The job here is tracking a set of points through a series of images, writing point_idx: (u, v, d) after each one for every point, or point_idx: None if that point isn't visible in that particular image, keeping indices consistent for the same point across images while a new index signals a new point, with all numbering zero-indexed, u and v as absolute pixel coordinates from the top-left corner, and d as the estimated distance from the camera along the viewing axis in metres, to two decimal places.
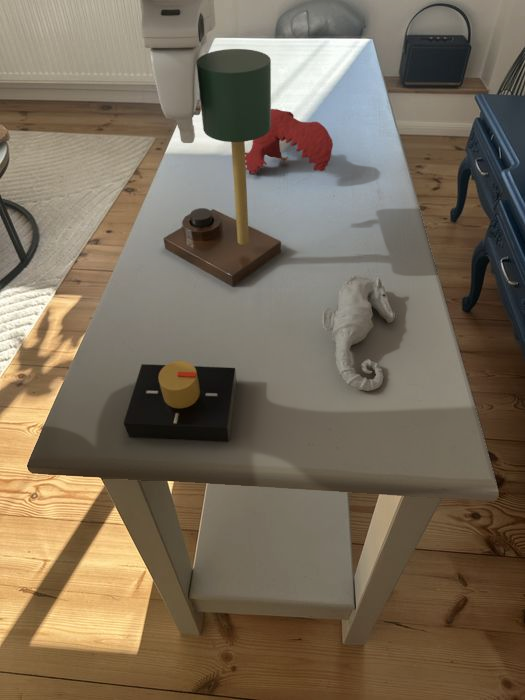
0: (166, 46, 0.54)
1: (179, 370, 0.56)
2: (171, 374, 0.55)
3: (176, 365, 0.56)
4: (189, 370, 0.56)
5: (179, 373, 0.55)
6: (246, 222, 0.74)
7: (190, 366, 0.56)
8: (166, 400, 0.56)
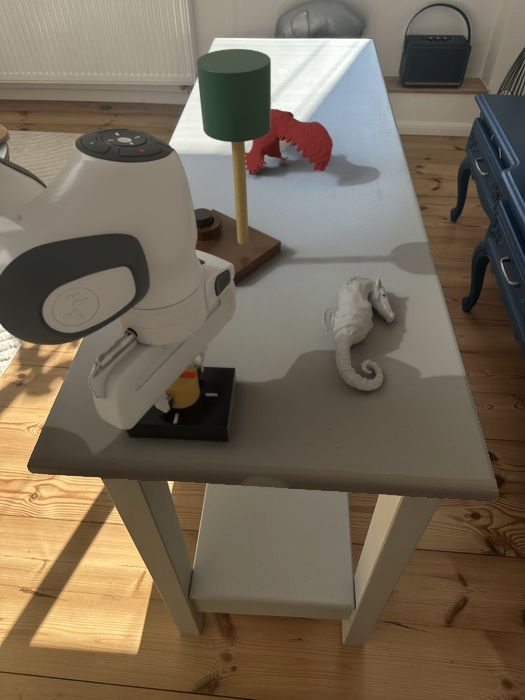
0: None
1: None
2: None
3: None
4: (189, 370, 0.56)
5: None
6: (246, 222, 0.74)
7: (190, 366, 0.56)
8: None
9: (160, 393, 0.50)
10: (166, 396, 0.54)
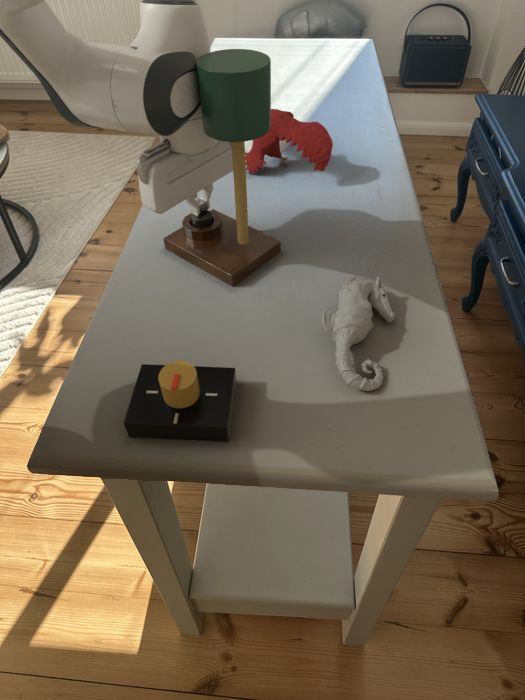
0: None
1: (183, 376, 0.55)
2: (179, 370, 0.56)
3: (190, 373, 0.55)
4: (182, 384, 0.54)
5: (176, 375, 0.55)
6: (246, 222, 0.74)
7: (187, 384, 0.54)
8: None
9: (183, 196, 0.74)
10: (198, 203, 0.80)
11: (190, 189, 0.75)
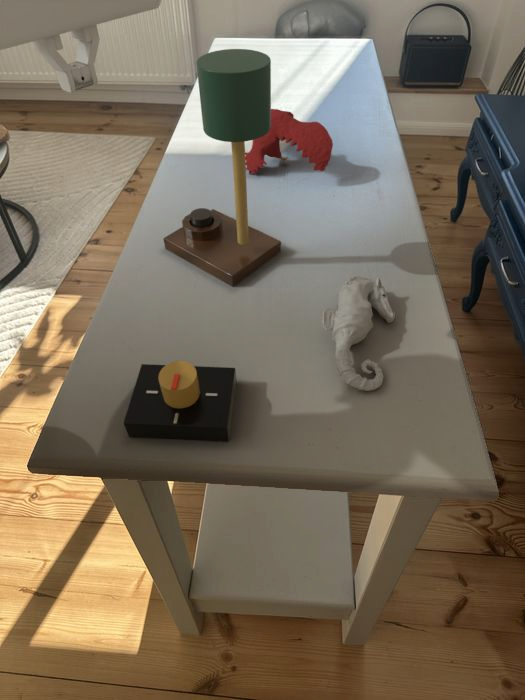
0: None
1: (183, 376, 0.55)
2: (179, 370, 0.56)
3: (190, 373, 0.55)
4: (182, 384, 0.54)
5: (176, 375, 0.55)
6: (246, 222, 0.74)
7: (187, 384, 0.54)
8: None
9: (22, 32, 0.37)
10: (71, 67, 0.42)
11: (38, 20, 0.37)
